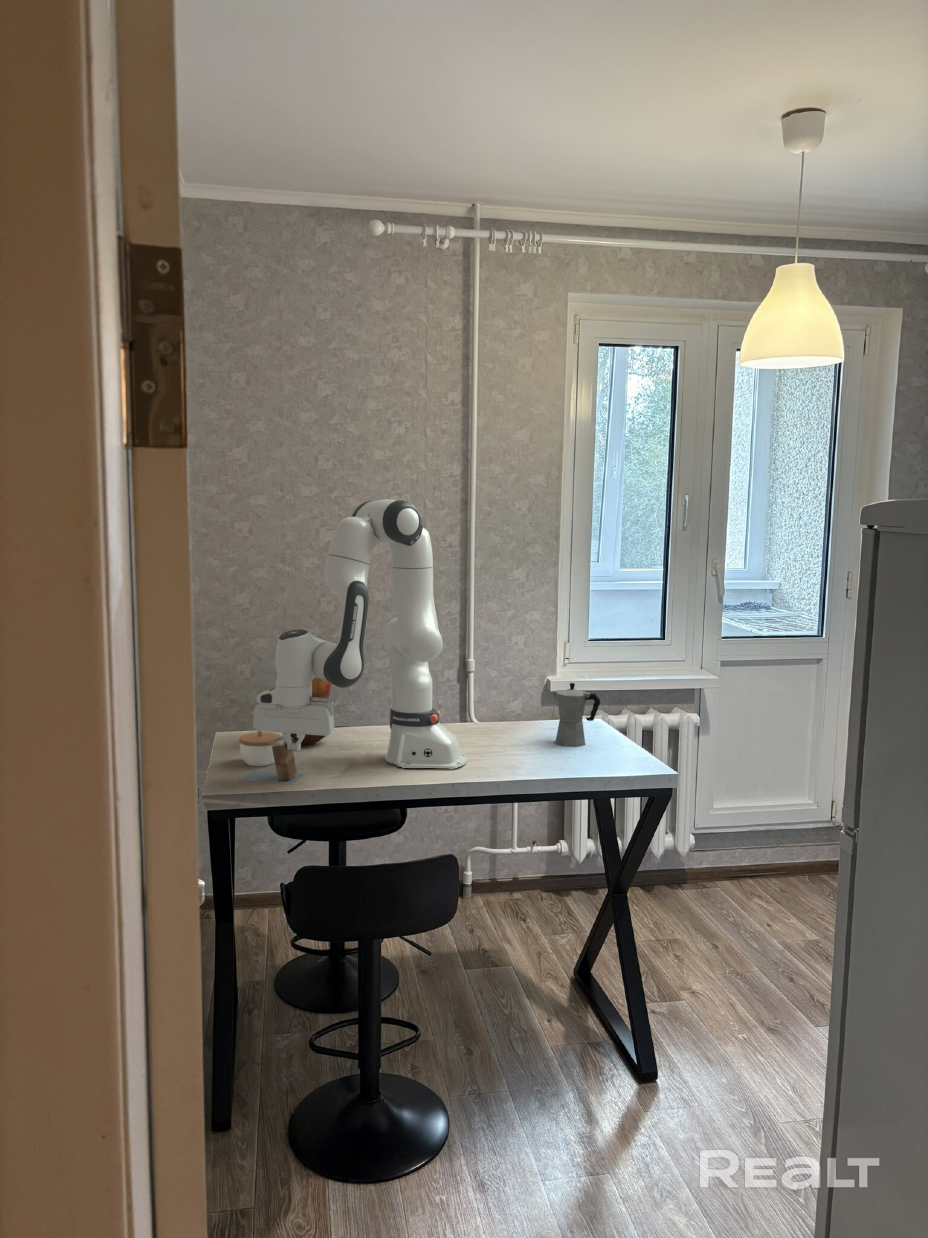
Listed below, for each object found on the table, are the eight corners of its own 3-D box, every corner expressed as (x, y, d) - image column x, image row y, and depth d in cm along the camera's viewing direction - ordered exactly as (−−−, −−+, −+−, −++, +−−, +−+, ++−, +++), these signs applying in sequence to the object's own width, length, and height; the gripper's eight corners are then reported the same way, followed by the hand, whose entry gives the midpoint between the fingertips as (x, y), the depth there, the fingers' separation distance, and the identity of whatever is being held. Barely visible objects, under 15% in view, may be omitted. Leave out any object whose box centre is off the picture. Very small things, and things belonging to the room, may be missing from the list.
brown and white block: (297, 773, 236) (289, 735, 235) (289, 779, 231) (282, 740, 230) (286, 775, 236) (278, 737, 235) (278, 781, 231) (270, 742, 231)
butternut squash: (325, 750, 263) (325, 663, 259) (279, 748, 264) (278, 661, 261) (337, 738, 276) (337, 654, 273) (293, 736, 278) (293, 653, 275)
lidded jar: (281, 759, 253) (281, 725, 252) (280, 770, 243) (280, 735, 242) (241, 760, 252) (240, 726, 250) (238, 772, 241) (237, 736, 240)
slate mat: (305, 777, 237) (305, 774, 237) (292, 788, 229) (292, 784, 229) (254, 773, 240) (254, 770, 240) (239, 783, 231) (239, 780, 231)
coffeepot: (543, 743, 275) (545, 683, 272) (556, 736, 283) (557, 677, 281) (592, 750, 267) (594, 689, 265) (604, 743, 276) (606, 683, 273)
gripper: (338, 695, 231) (337, 750, 233) (260, 690, 235) (261, 744, 237) (329, 701, 225) (329, 756, 227) (250, 695, 229) (250, 750, 231)
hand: (293, 750), depth 232 cm, fingers closed
